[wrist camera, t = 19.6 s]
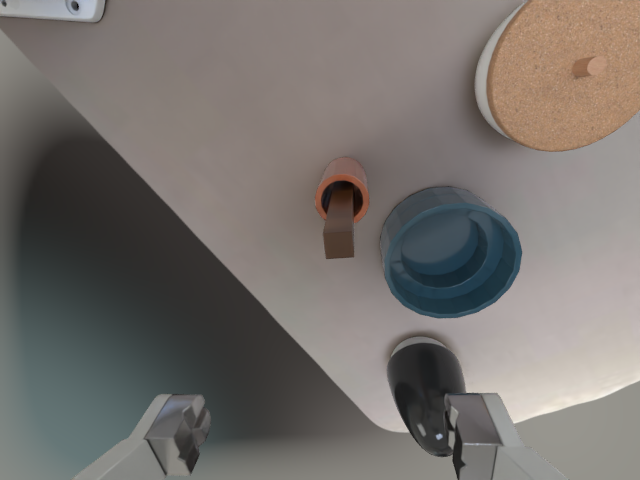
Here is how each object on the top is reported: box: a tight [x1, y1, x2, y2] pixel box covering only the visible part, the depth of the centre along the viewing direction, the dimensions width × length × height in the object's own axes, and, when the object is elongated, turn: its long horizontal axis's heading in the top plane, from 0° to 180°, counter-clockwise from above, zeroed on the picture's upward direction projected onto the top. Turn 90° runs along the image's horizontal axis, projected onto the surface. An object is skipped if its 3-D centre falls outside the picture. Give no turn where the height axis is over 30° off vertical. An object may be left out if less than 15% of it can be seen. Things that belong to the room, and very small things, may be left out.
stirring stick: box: [323, 180, 354, 259], centre depth 30 cm, size 2×2×18 cm
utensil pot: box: [315, 157, 369, 223], centre depth 35 cm, size 5×5×9 cm
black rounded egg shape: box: [387, 337, 466, 457], centre depth 42 cm, size 10×10×15 cm
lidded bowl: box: [475, 0, 640, 152], centre depth 27 cm, size 13×13×11 cm
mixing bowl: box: [380, 186, 522, 318], centre depth 38 cm, size 14×14×7 cm
